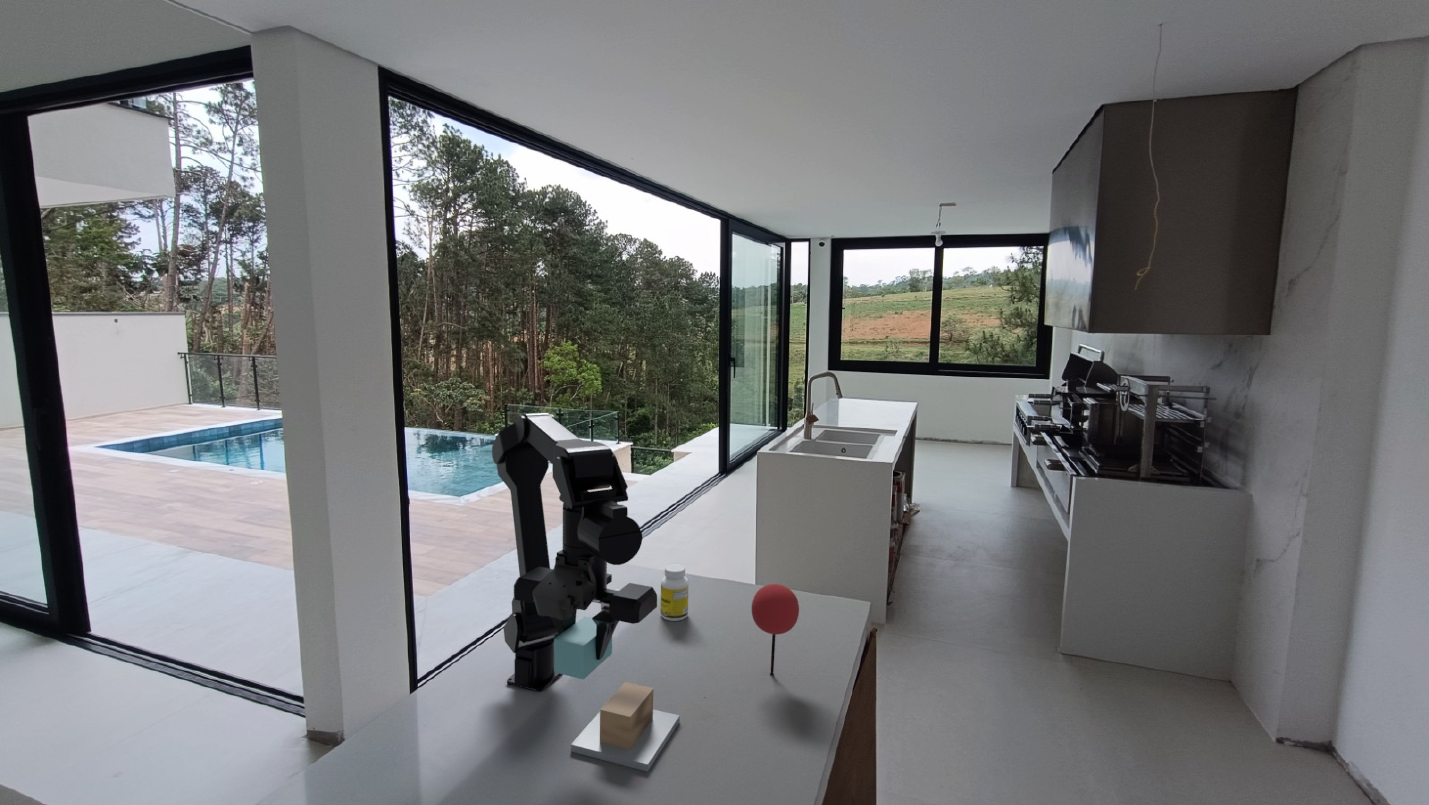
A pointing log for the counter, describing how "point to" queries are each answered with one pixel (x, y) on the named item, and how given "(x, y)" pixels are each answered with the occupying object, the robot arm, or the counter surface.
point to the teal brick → (578, 650)
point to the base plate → (641, 750)
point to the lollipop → (775, 611)
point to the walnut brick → (626, 715)
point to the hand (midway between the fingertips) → (584, 655)
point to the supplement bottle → (674, 593)
